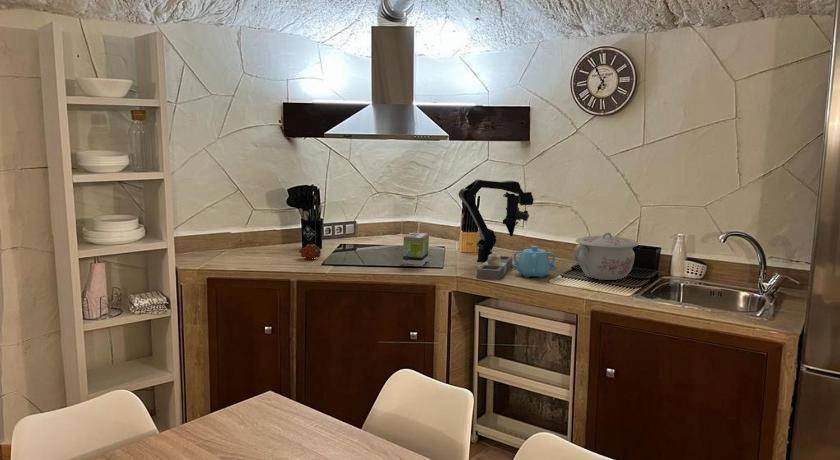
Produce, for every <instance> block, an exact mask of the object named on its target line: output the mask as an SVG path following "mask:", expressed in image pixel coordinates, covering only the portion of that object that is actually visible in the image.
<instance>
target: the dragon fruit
mask: <svg viewBox="0 0 840 460" xmlns="http://www.w3.org/2000/svg"><path fill="white" fill-rule="evenodd" d="M298 253H300V256H301V257H302V258H305V257H306V258H305V259H306V260H307V259H309V258H311V259H309V260H312V258H320V257H321V254H322V252H321V249H320V247H319V246H317V245H316V244H314V243H312V244H309V243H307V245H306V246H303V248H300V249H299V251H298Z"/></svg>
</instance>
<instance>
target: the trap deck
mask: <svg viewBox="0 0 840 460" xmlns="http://www.w3.org/2000/svg"><path fill="white" fill-rule="evenodd" d="M512 265H513V256H507V255H506V256H503V255H501V263H500V264H499V265H488V260H487V261H486V262H483V263H482V264H481V265H480V266H479V267H478V268H477V269H476V278H477V279H485V280H497V281H498V280H500V279H501V278H502V277H503V276H504V275H505V274H506V273H507V272H508V270H509V269H510V268H511V267H512Z"/></svg>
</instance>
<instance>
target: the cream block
mask: <svg viewBox="0 0 840 460" xmlns="http://www.w3.org/2000/svg"><path fill="white" fill-rule="evenodd" d="M501 256H502V254H494V253H492V254H490V255H489V256H488V265H499V264H500V263H501Z"/></svg>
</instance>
